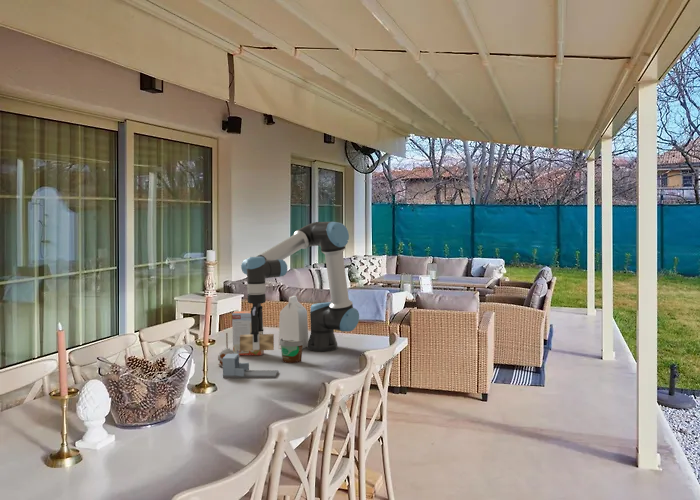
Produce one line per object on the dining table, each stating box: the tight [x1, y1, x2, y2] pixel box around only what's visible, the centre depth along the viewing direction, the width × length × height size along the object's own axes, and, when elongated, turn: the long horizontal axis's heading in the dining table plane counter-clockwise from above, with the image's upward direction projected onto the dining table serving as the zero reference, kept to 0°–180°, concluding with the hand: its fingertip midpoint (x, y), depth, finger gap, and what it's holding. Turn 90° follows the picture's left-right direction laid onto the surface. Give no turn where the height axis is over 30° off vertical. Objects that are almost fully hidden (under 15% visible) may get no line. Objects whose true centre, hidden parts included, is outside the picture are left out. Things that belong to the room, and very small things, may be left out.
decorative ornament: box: [217, 332, 235, 368], centre depth 276 cm, size 8×8×15 cm
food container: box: [278, 338, 304, 364], centre depth 282 cm, size 12×6×10 cm, turn 62°
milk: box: [277, 295, 309, 350], centre depth 312 cm, size 12×12×26 cm
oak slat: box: [240, 333, 275, 351], centre depth 259 cm, size 14×4×6 cm, turn 96°
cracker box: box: [231, 310, 265, 356], centre depth 297 cm, size 14×6×21 cm, turn 84°
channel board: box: [222, 354, 279, 379], centre depth 260 cm, size 22×11×8 cm, turn 88°
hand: (257, 348), depth 259 cm, fingers closed on oak slat, 4 cm apart
